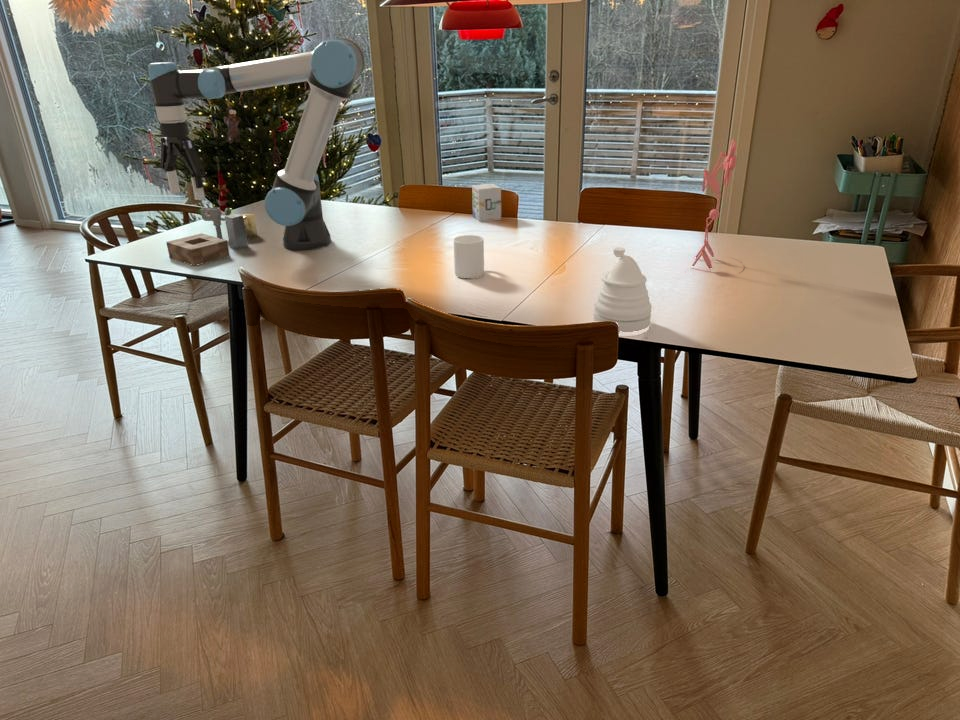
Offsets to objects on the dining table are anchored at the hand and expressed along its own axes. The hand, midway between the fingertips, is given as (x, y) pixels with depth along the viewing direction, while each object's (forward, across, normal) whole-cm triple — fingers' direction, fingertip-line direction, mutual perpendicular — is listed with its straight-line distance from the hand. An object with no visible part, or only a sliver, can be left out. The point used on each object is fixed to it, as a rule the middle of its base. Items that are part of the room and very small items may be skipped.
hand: (187, 196), depth 207 cm
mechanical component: (+19, +14, -16) cm, 28 cm away
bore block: (+19, 0, 0) cm, 19 cm away
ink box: (+19, -43, -89) cm, 101 cm away
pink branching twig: (+19, -131, -85) cm, 157 cm away
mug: (+19, -78, -38) cm, 89 cm away
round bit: (+19, +8, -23) cm, 31 cm away
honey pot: (+19, -130, -30) cm, 135 cm away
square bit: (+19, 0, -14) cm, 23 cm away
